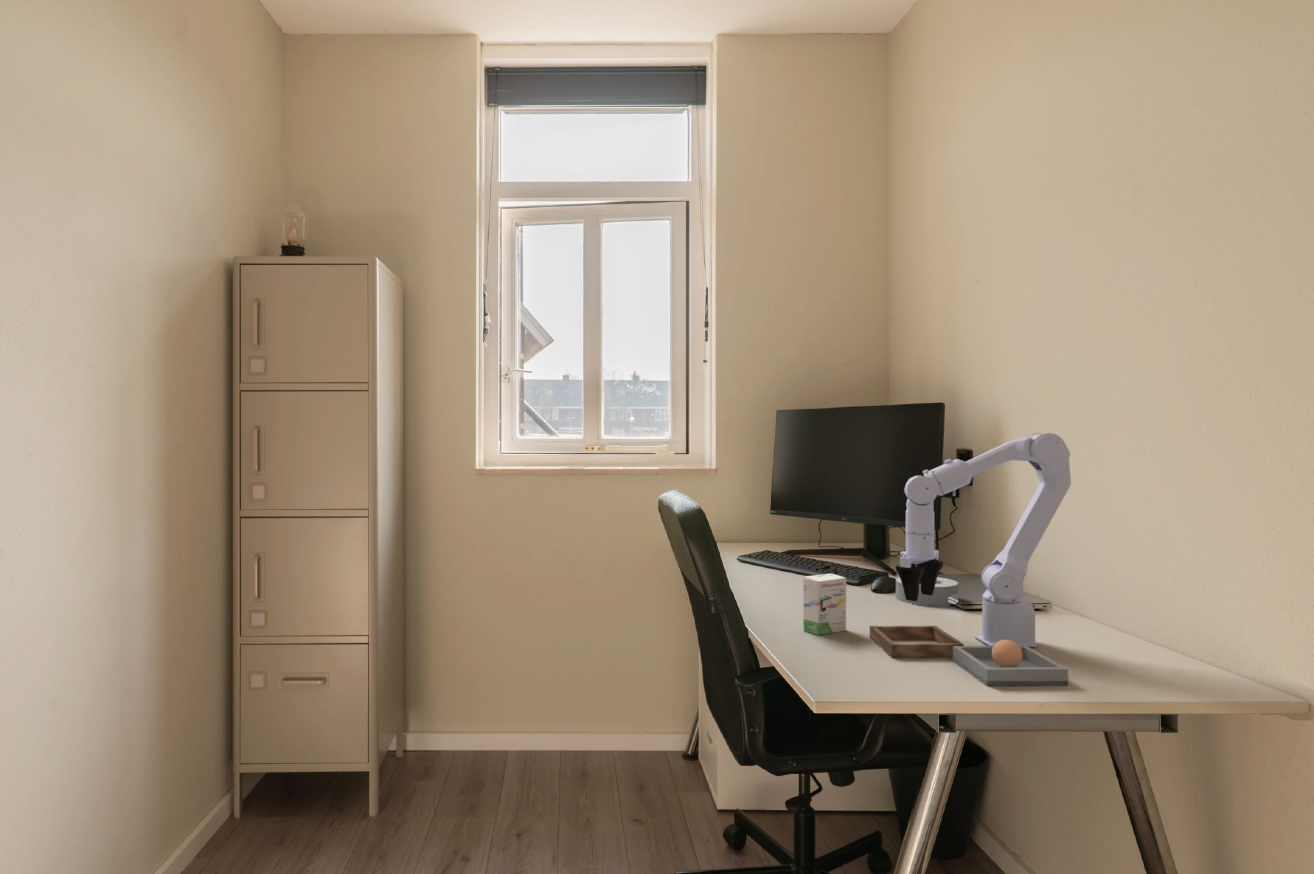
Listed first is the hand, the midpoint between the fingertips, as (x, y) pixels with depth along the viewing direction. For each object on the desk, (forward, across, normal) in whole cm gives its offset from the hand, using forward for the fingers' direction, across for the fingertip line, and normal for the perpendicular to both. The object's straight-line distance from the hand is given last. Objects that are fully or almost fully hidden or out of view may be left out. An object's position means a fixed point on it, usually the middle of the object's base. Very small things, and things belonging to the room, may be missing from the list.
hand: (919, 597), depth 158 cm
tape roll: (+9, -36, -14) cm, 40 cm away
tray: (+8, +11, +22) cm, 26 cm away
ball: (+5, +11, +21) cm, 25 cm away
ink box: (+9, +9, -17) cm, 21 cm away
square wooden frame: (+8, +8, +2) cm, 12 cm away
